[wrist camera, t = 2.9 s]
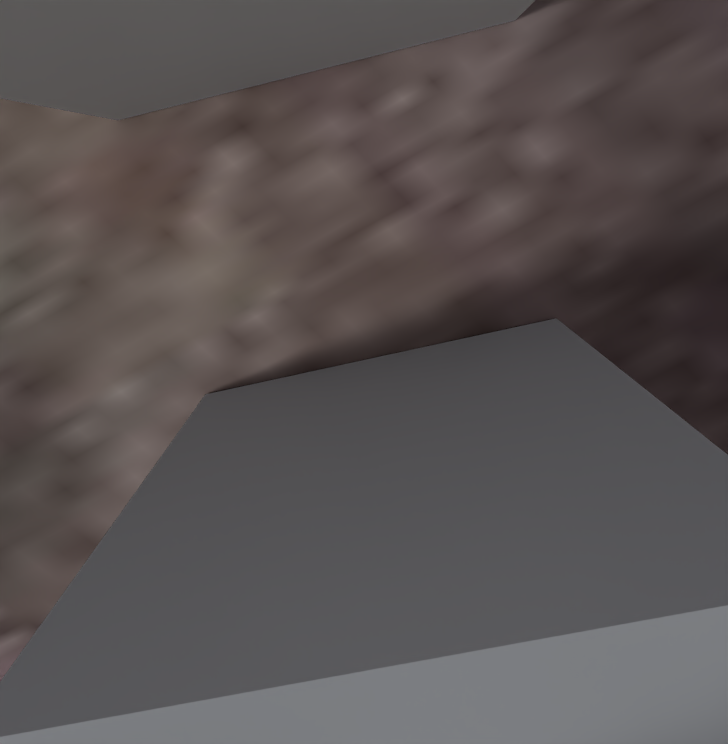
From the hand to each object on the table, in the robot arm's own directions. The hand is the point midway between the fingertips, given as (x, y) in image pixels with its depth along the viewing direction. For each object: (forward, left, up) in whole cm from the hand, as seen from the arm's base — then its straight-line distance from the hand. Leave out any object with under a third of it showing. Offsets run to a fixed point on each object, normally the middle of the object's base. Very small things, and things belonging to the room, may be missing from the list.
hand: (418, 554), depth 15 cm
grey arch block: (0, 0, -2) cm, 2 cm away
